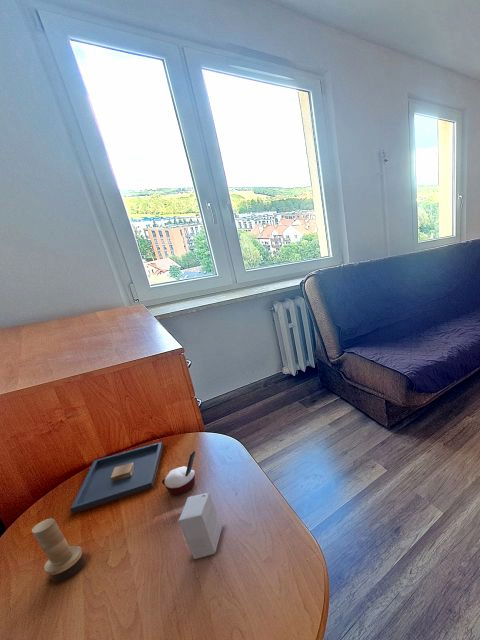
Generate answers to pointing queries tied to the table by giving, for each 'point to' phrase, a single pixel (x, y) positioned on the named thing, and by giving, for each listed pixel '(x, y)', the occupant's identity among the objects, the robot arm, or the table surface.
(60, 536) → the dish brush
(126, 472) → the cork chip
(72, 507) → the tray
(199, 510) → the cosmetic box
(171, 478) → the cocoa
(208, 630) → the table surface
